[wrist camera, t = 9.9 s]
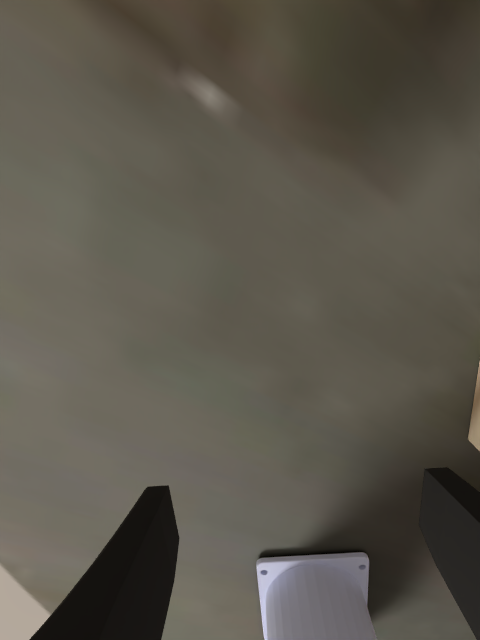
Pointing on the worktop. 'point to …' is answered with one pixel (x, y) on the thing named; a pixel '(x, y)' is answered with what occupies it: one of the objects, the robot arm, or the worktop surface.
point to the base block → (475, 416)
